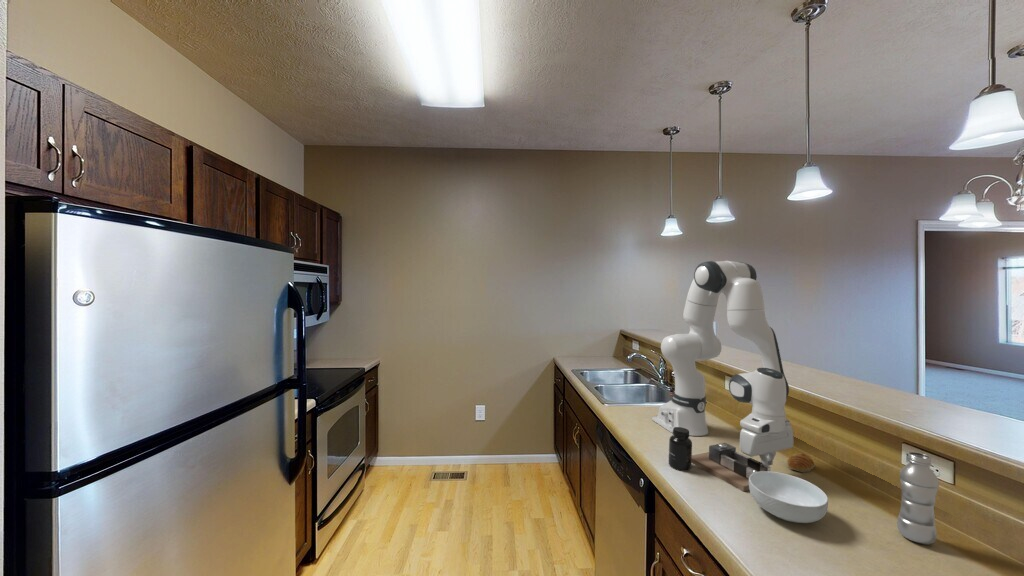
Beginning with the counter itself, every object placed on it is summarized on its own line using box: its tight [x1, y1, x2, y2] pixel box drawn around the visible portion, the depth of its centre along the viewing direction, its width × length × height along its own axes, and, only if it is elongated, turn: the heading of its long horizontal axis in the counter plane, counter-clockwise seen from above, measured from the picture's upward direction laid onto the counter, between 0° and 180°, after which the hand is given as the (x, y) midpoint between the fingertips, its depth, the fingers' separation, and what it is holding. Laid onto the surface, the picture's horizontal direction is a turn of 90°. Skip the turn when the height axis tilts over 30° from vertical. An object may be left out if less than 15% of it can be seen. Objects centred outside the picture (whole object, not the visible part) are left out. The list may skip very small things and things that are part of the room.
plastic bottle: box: [896, 451, 940, 546], centre depth 91 cm, size 6×7×20 cm
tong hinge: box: [708, 442, 737, 465], centre depth 127 cm, size 4×7×5 cm, turn 112°
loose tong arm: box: [734, 451, 772, 472], centre depth 120 cm, size 12×1×3 cm, turn 22°
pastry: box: [787, 452, 816, 473], centre depth 126 cm, size 9×7×4 cm
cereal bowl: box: [749, 471, 829, 524], centre depth 100 cm, size 17×17×7 cm
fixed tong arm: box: [721, 455, 757, 479], centre depth 118 cm, size 12×1×3 cm, turn 22°
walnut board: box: [691, 451, 750, 492], centre depth 123 cm, size 20×15×2 cm
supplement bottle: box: [668, 427, 693, 471], centre depth 125 cm, size 7×7×12 cm
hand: (766, 465), depth 122 cm, fingers closed
